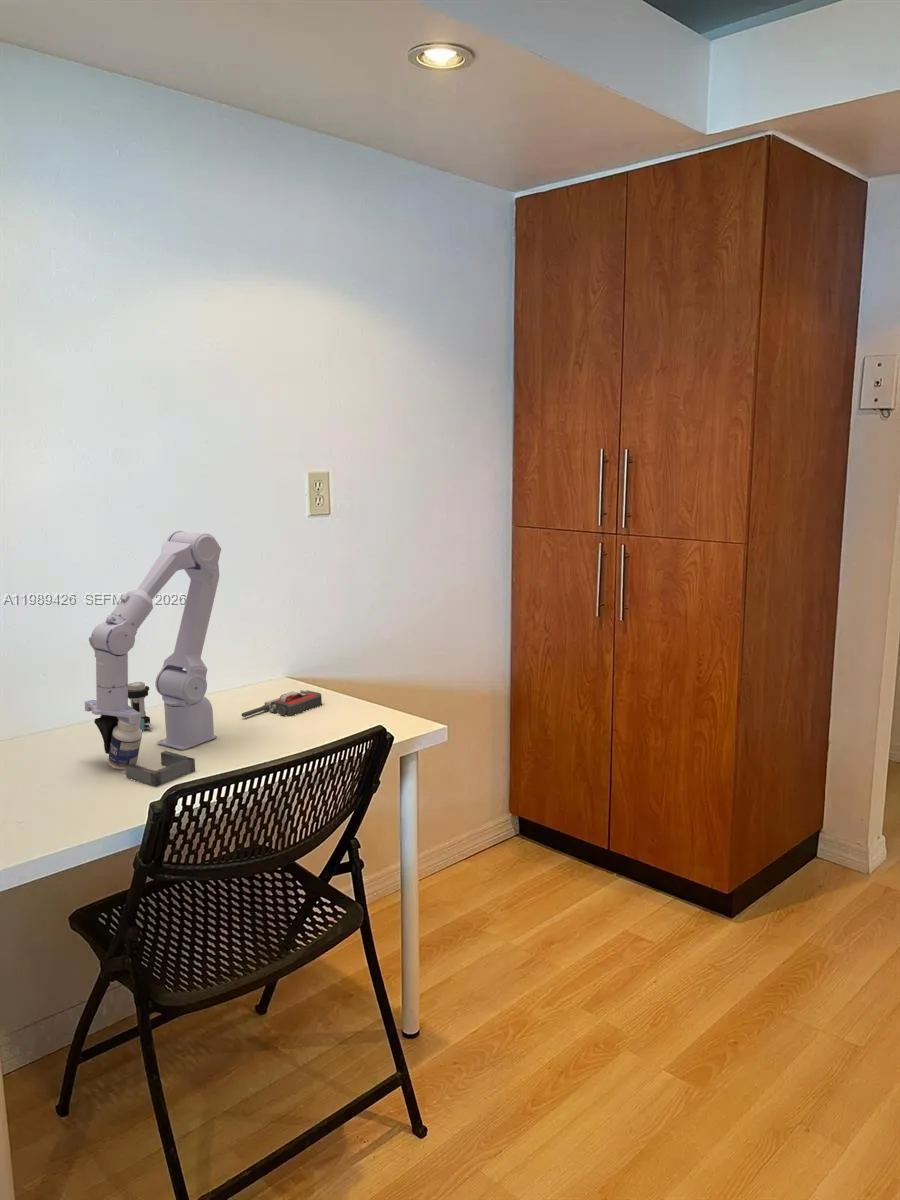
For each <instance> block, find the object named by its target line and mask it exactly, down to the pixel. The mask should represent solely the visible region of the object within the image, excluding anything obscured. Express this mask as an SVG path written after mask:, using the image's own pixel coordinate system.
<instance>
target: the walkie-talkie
mask: <svg viewBox="0 0 900 1200" xmlns="http://www.w3.org/2000/svg"><path fill="white" fill-rule="evenodd" d="M322 703H323V701H322V693H320V692H316V691H312V690H304V689H300V691H299V692H297V691H290V692H289V691H288V692H286V693H284V694H281V695H280V696H279V697H278V698H275V699H271V700H268V701H264V705H262V706H260V707H256V708H254V709H250V710H248V711H245V712H243V713H241V717H243V718H246V717H248V716H249V717H250V716H252V715H255V714H258V713H261V712H266V711H267V710H268V711H267V712H270V713H272V712H275V713H274V714H277V713H278V714H277V715H280V716H285V715H287V716H286V717H294V716H296V715H299V714H301V712H302V713H304V712H303V711H305V712H307V711H306V710H308V711H310V710H312V709H311V708H313V709H315V708H314V707H316V708H318V707H317V706H319V707H321V706H322ZM320 705H321V706H320ZM309 709H310V710H309ZM298 713H299V714H298ZM272 714H273V713H272ZM295 714H296V715H295ZM293 715H294V716H293Z"/></svg>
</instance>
